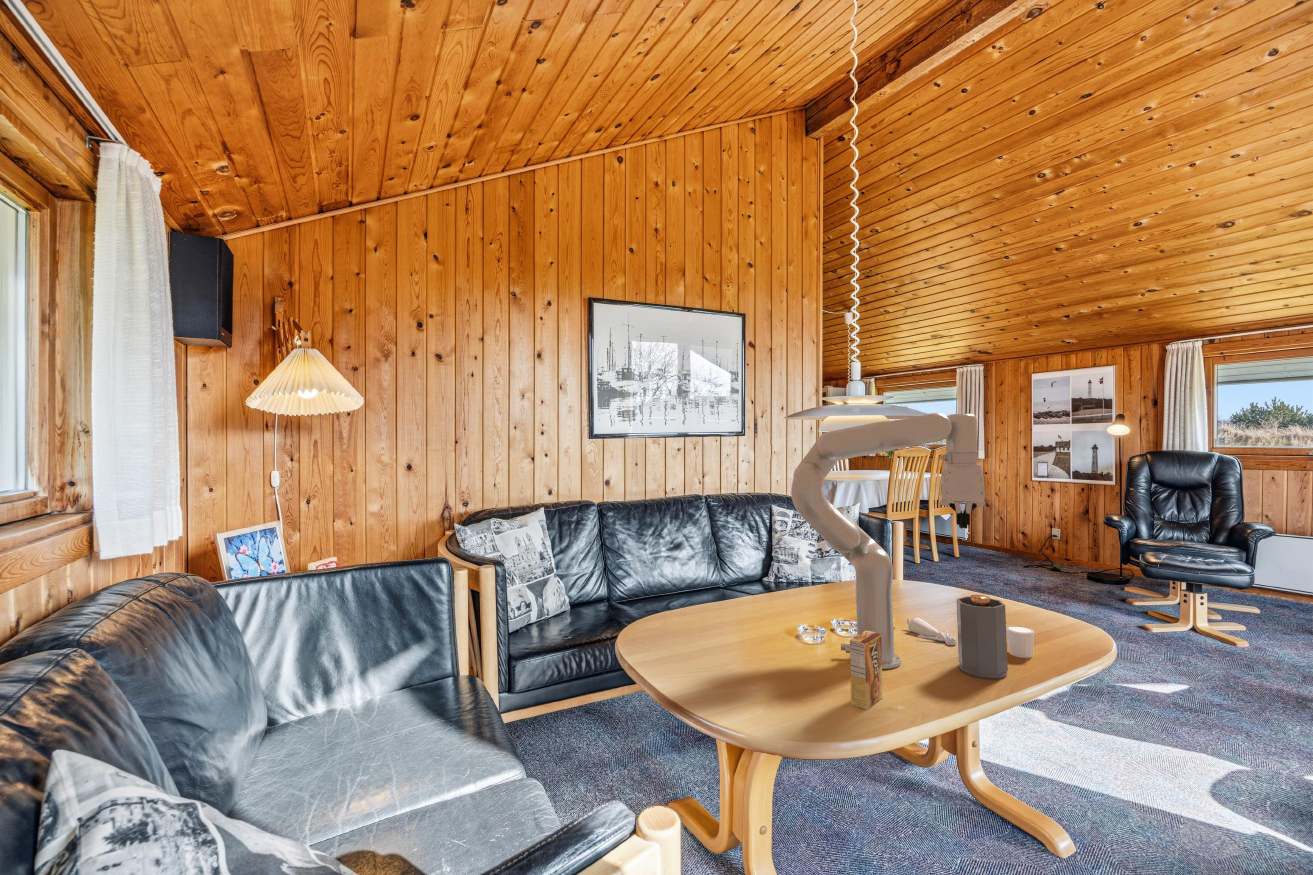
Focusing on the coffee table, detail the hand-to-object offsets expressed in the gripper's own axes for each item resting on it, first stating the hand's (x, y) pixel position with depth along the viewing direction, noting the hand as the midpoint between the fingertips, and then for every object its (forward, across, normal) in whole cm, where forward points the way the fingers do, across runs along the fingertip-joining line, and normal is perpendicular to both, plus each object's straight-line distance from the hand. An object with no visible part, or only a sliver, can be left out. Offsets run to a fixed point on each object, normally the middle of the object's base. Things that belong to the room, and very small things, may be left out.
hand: (963, 527), depth 158 cm
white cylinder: (+37, +16, +12) cm, 42 cm away
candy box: (+38, -25, -30) cm, 54 cm away
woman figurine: (+38, -6, +22) cm, 44 cm away
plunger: (+34, +3, -4) cm, 34 cm away
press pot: (+37, +3, -2) cm, 37 cm away
